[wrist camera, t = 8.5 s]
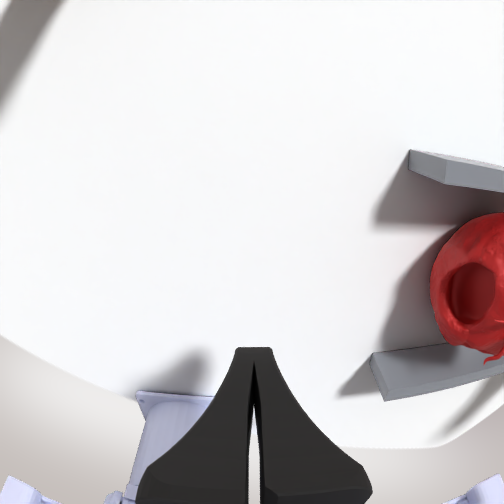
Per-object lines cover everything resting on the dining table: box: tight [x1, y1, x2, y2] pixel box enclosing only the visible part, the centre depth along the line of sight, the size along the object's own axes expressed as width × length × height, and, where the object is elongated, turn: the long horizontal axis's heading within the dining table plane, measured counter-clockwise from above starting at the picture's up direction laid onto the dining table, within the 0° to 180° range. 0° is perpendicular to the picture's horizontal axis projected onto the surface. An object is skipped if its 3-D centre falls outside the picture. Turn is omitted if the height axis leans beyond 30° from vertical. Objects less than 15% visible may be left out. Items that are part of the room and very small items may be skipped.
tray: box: [370, 150, 504, 401], centre depth 17 cm, size 16×15×4 cm
